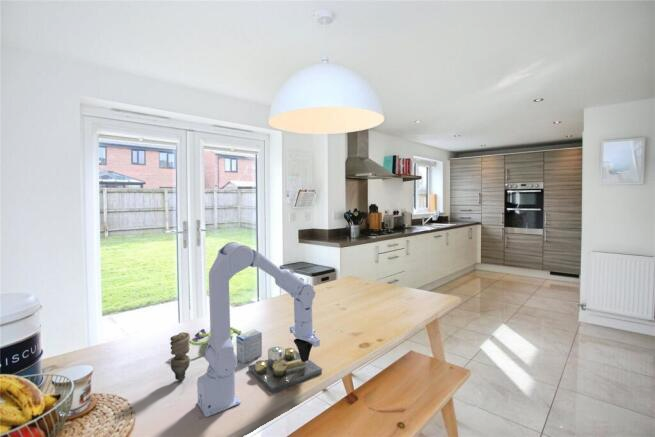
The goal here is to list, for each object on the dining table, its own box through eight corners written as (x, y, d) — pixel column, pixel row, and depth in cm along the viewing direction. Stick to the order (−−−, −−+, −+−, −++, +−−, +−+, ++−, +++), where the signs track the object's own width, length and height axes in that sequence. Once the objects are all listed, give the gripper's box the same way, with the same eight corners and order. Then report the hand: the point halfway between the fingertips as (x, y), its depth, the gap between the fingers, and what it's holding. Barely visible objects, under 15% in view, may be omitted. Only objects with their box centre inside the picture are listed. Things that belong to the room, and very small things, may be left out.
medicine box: (254, 351, 119) (254, 328, 119) (262, 355, 117) (262, 331, 116) (236, 360, 113) (235, 335, 113) (244, 364, 110) (243, 339, 110)
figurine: (171, 364, 111) (171, 348, 111) (199, 332, 138) (199, 319, 138) (226, 363, 112) (225, 347, 111) (243, 331, 138) (243, 318, 138)
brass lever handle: (275, 377, 99) (275, 368, 99) (271, 370, 103) (271, 361, 103) (309, 368, 104) (309, 360, 104) (304, 362, 108) (304, 354, 108)
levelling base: (272, 393, 94) (272, 371, 93) (248, 370, 106) (248, 350, 106) (321, 373, 105) (321, 353, 104) (295, 354, 117) (295, 336, 117)
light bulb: (193, 376, 103) (192, 329, 102) (186, 386, 97) (185, 337, 96) (175, 376, 103) (174, 330, 102) (167, 386, 97) (166, 337, 96)
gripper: (327, 322, 100) (328, 365, 101) (301, 310, 112) (302, 348, 113) (308, 329, 96) (309, 373, 97) (283, 315, 108) (285, 355, 109)
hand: (304, 360), depth 105 cm, fingers closed, pressing on brass lever handle
